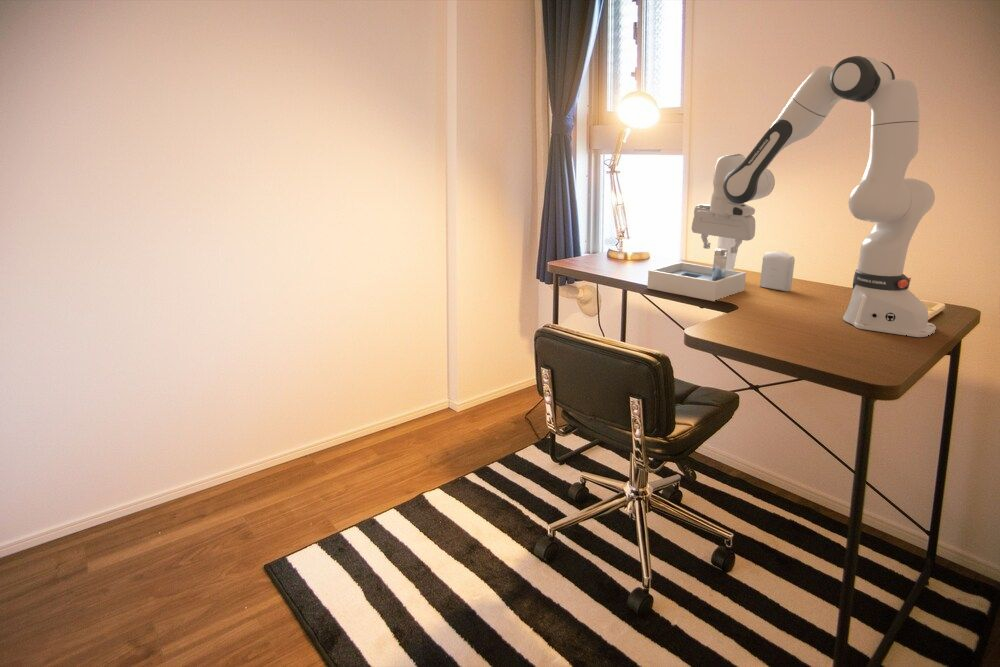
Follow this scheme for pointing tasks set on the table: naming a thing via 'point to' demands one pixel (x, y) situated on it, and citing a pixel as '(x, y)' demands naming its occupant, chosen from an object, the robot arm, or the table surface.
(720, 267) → the peg
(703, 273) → the box
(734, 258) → the drinking glass
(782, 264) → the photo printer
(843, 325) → the table surface
